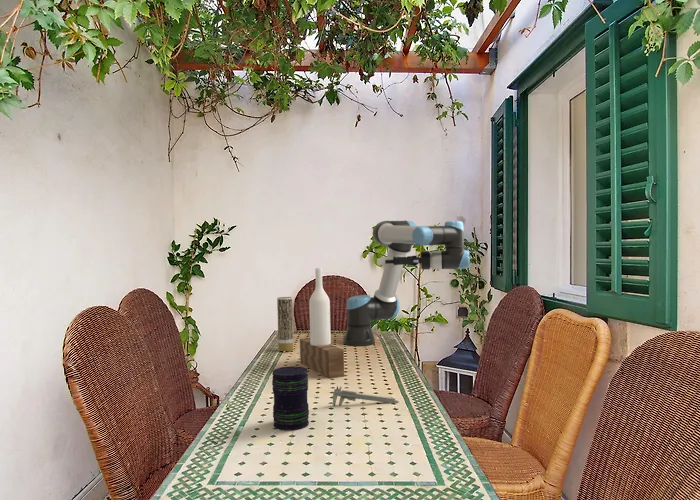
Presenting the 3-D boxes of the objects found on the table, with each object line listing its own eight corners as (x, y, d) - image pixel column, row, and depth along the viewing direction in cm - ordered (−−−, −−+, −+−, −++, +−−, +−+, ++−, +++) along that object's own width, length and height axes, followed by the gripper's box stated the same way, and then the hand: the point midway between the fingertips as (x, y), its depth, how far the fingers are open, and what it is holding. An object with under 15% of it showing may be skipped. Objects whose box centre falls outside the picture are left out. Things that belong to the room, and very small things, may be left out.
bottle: (306, 345, 205) (304, 268, 205) (317, 341, 213) (315, 267, 212) (324, 346, 202) (322, 268, 201) (334, 342, 209) (332, 267, 208)
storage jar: (294, 433, 137) (292, 376, 137) (265, 427, 143) (264, 372, 142) (316, 421, 146) (315, 368, 146) (288, 416, 151) (287, 364, 151)
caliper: (333, 407, 159) (332, 386, 159) (333, 406, 161) (332, 385, 160) (399, 403, 162) (398, 383, 162) (398, 402, 163) (397, 382, 163)
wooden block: (300, 362, 219) (299, 338, 219) (313, 361, 222) (313, 337, 222) (329, 378, 192) (328, 351, 192) (344, 376, 195) (343, 349, 195)
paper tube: (294, 349, 248) (293, 296, 247) (291, 352, 241) (290, 298, 240) (280, 349, 248) (279, 296, 248) (277, 352, 241) (275, 298, 241)
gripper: (430, 271, 201) (375, 271, 205) (431, 267, 226) (382, 268, 229) (430, 251, 201) (375, 252, 205) (430, 250, 226) (381, 251, 229)
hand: (378, 261), depth 217 cm, fingers open, 13 cm apart
